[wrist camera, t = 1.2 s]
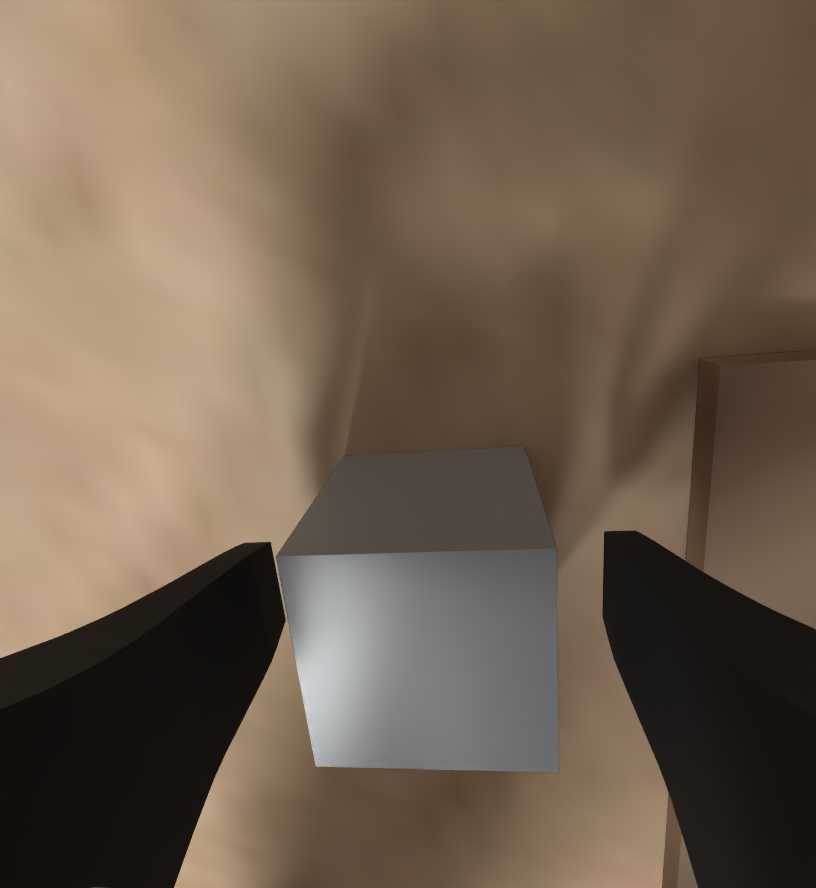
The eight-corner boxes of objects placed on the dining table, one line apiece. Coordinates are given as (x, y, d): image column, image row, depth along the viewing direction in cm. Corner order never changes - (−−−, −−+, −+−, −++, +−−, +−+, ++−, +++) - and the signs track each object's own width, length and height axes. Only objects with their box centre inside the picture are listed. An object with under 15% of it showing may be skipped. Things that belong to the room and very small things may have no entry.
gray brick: (528, 603, 14) (558, 772, 9) (365, 605, 15) (315, 766, 10) (524, 445, 13) (556, 548, 8) (344, 454, 13) (275, 556, 9)
